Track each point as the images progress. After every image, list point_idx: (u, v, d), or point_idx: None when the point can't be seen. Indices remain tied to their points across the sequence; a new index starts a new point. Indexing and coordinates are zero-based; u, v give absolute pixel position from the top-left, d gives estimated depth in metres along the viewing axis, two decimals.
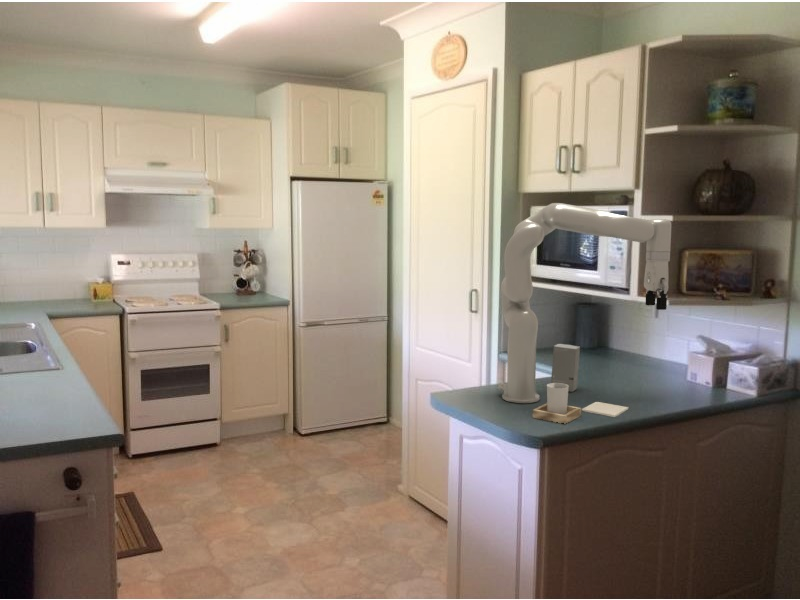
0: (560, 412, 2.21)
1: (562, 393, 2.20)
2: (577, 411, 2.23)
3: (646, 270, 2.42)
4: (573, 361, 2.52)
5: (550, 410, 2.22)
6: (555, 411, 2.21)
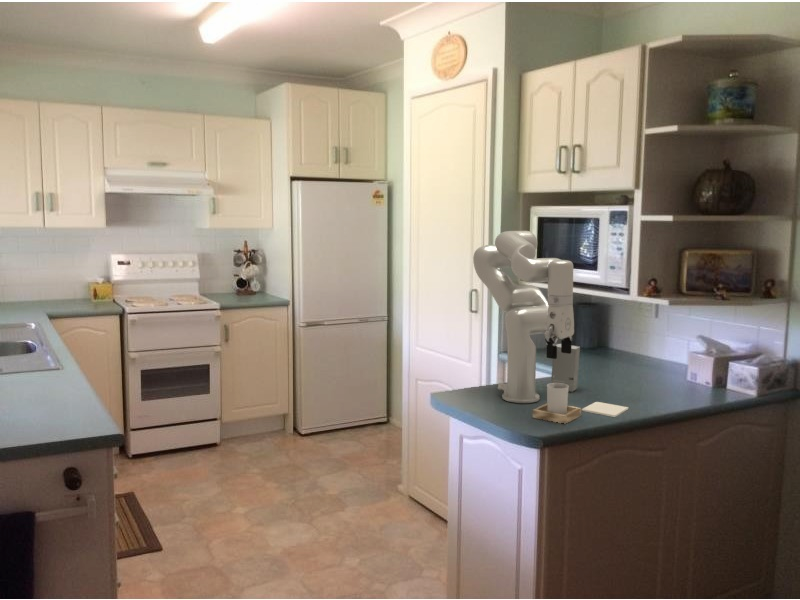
0: (560, 412, 2.21)
1: (562, 393, 2.20)
2: (577, 411, 2.23)
3: (564, 318, 2.16)
4: (573, 361, 2.52)
5: (550, 410, 2.22)
6: (555, 411, 2.21)
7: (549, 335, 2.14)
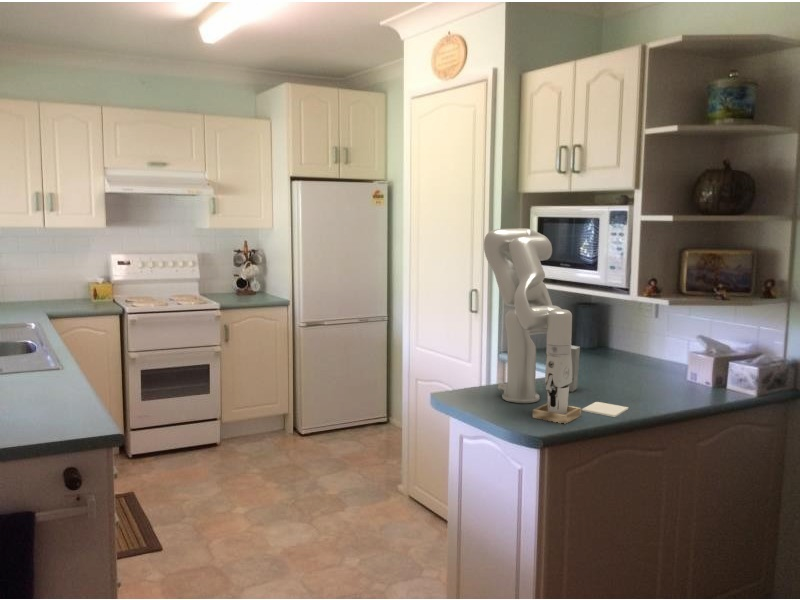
0: (560, 412, 2.21)
1: (563, 393, 2.20)
2: (577, 411, 2.23)
3: (562, 367, 2.19)
4: (573, 361, 2.51)
5: (550, 410, 2.23)
6: (555, 411, 2.21)
7: (551, 389, 2.18)
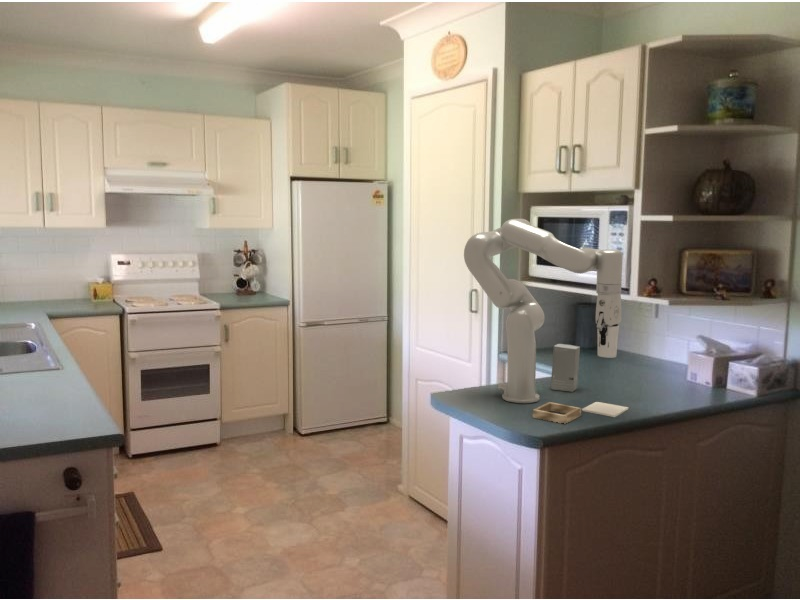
0: (611, 350, 2.25)
1: (613, 331, 2.24)
2: (577, 411, 2.23)
3: (613, 306, 2.23)
4: (573, 361, 2.51)
5: (601, 348, 2.27)
6: (606, 349, 2.26)
7: (601, 327, 2.22)
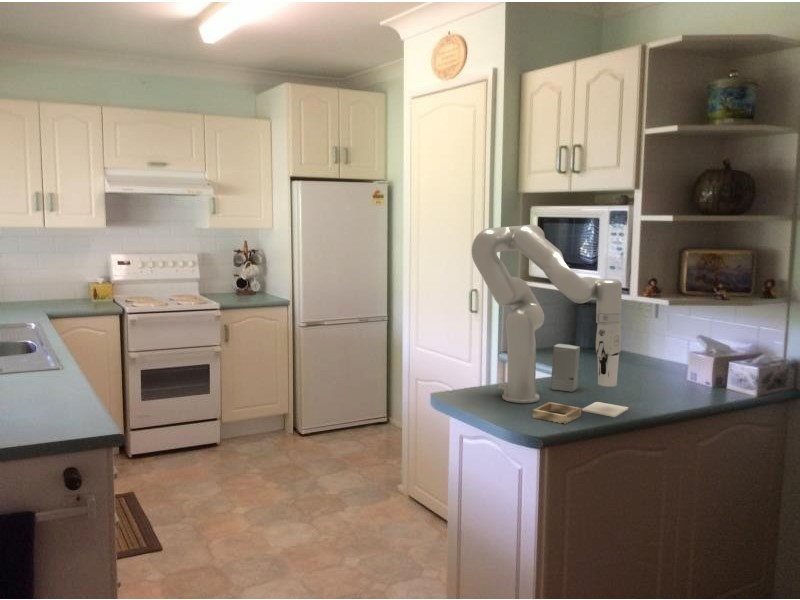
0: (611, 379, 2.27)
1: (613, 360, 2.26)
2: (577, 411, 2.23)
3: (613, 335, 2.24)
4: (573, 361, 2.52)
5: (601, 377, 2.28)
6: (606, 378, 2.27)
7: (602, 356, 2.24)
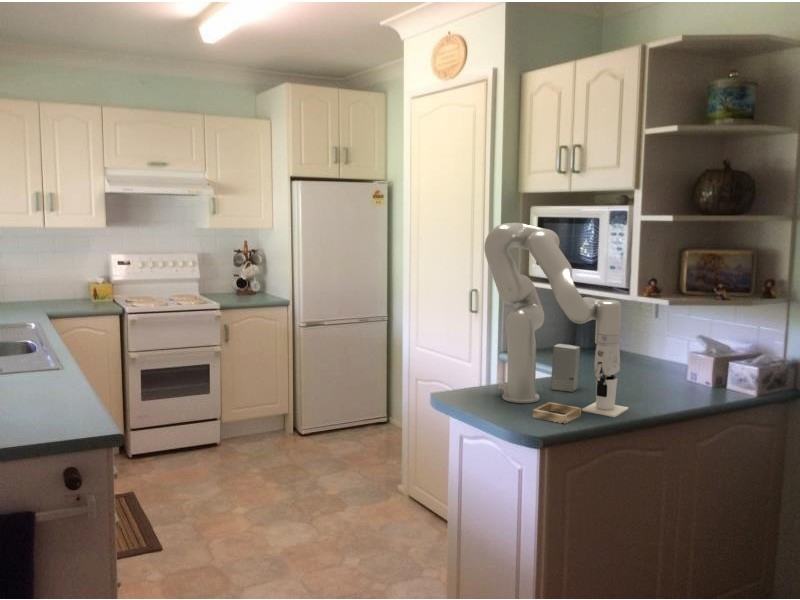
0: (609, 402, 2.28)
1: (611, 384, 2.27)
2: (577, 411, 2.23)
3: (611, 356, 2.25)
4: (573, 361, 2.51)
5: (599, 400, 2.30)
6: (604, 401, 2.29)
7: (599, 377, 2.24)
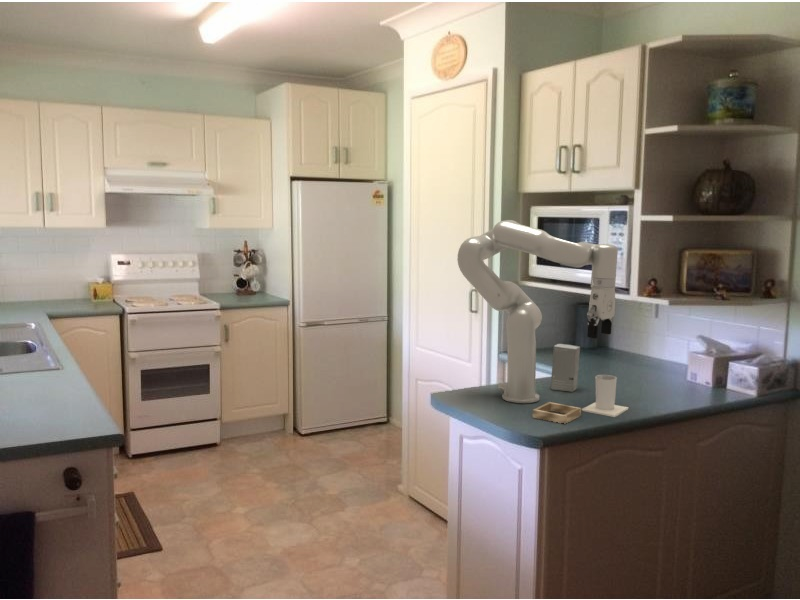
0: (608, 403, 2.29)
1: (610, 384, 2.28)
2: (577, 411, 2.23)
3: (606, 300, 2.26)
4: (573, 361, 2.52)
5: (598, 401, 2.30)
6: (603, 402, 2.29)
7: (591, 315, 2.24)
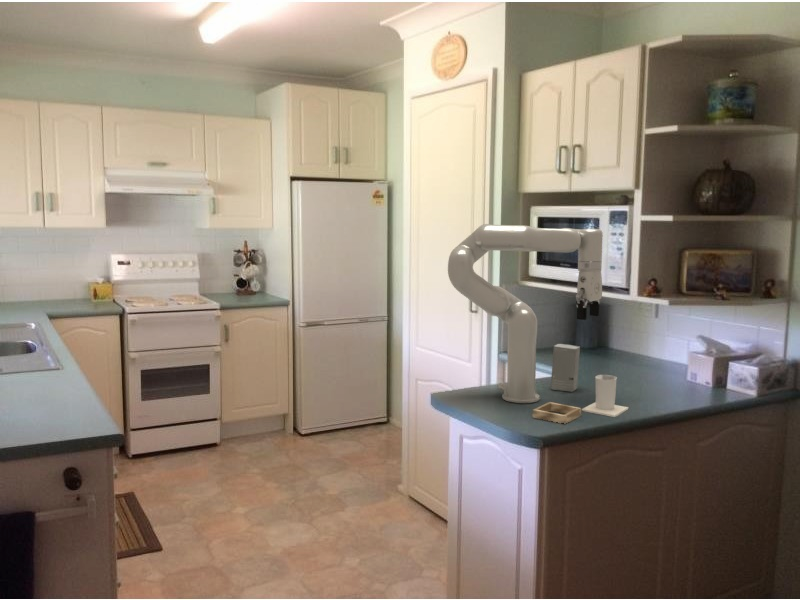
0: (608, 403, 2.29)
1: (610, 384, 2.28)
2: (577, 411, 2.23)
3: (593, 282, 2.34)
4: (573, 361, 2.52)
5: (598, 401, 2.30)
6: (603, 402, 2.29)
7: (580, 297, 2.31)
